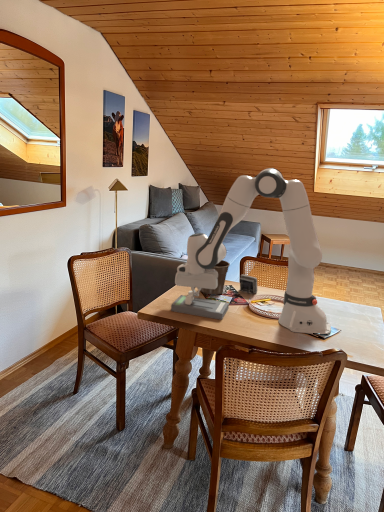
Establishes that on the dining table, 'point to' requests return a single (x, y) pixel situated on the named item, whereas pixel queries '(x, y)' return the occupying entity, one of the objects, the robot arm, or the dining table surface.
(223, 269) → the plant pot
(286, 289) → the robot arm
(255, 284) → the electrical switch
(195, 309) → the grey slider panel
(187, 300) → the block
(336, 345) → the dining table surface
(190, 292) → the block
